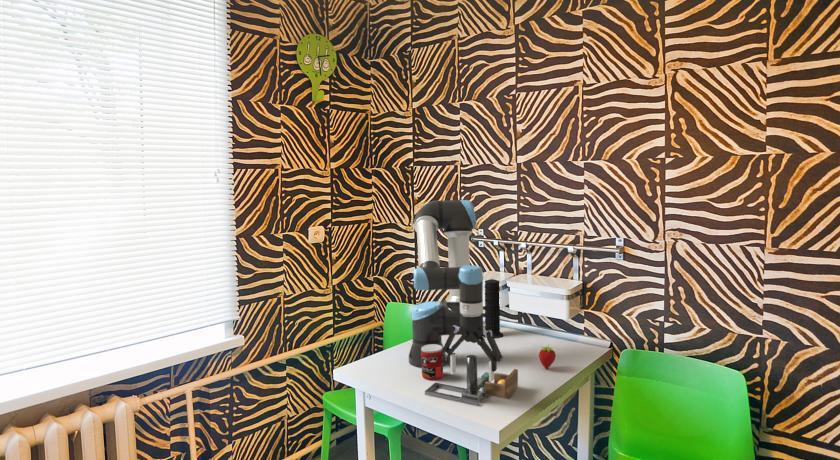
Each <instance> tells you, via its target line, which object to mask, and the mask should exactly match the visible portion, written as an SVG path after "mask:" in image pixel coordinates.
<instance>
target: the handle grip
mask: <svg viewBox="0 0 840 460" xmlns="http://www.w3.org/2000/svg"><path fill="white" fill-rule="evenodd" d="M499 285H500V280H498V279H493V278H491V279H486V280H484V309H485V310H484V312H485V313H484V322H485V323H484V325H485V326H484V327H485V328H484V331H489V330H492V331H493V337H494V339H500V338H503V337H504V334H503V332H501V331H500V330H501V327H500V326H501V324H500V323H501V320H500V318H501V317H500V315H501V313H500V312H501V310H500V308H501V307H500V305H501V303H500V304H499V299H500V298H501V297H499V292H501V290H500V288H499ZM483 338H484V339H487V338H486V337H485V335H483Z"/></svg>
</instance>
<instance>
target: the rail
mask: <svg viewBox="0 0 840 460" xmlns="http://www.w3.org/2000/svg"><path fill="white" fill-rule="evenodd" d="M466 388H467V387H466ZM466 388H464V387H460V386H455V385H449V384H445V383H440V382H434V383H433V384H431V386H429V387H428V388H427V389H425V390H424V395H425V396H430V397H435V398H439V399H444V400H449V401H453V402H458V403H461V404H462V403H464V404H466V405H471V406H476V407H478V406H479V405H480V401H477V400H473V399H468V398H463V397H461V396H457V395H453V394H447V393H443V392H439V391H435V390H436V389H443V390H447V391H451V392H458V393H460V394H461V393H462V392H463V391H464V390H465V389H466ZM487 396H488V395H487V393H486V392H485V391H483V398H486V397H487Z"/></svg>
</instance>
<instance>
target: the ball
mask: <svg viewBox="0 0 840 460" xmlns="http://www.w3.org/2000/svg"><path fill="white" fill-rule="evenodd" d="M497 384H502V385H505V380H503V379H502V380H499V381H498V383H497Z"/></svg>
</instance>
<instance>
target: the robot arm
mask: <svg viewBox="0 0 840 460" xmlns="http://www.w3.org/2000/svg"><path fill="white" fill-rule="evenodd" d="M475 211H476V210H475V208H474V205H473V203H472V201H471V200H468V199H452V200H451V199H447V200H445V199H444V200H432V201H430V202H427V203H425V204H424V205H423V206H421V207H420V208H419V209H418V211H417V213H416V214H415V217H414V220H413V228H414V232H416V239H417V242H416V243H417V255H418V256H417V259H418V261H417V263H418V267H417V268H414V269H413V288H414V289H415V290H417V291H436V290H437V291H440V290H443V291H446V290H448V291H449V297H448V298H447V299H445V300H446V306H441V303H440V302H441V301H434V300H432V301H431V300H430V301H424V302H421V303H418V304H416V305H414V307H412V310H411V311H412V312H411V313H412V314H411V323H412V327H411V328H412V330H411V331H412V335H411V336H412V344H411V347H410V350H409V353H408V363H409V364H411V365H412V366H414V367H417V368H422V360H421V348H422V347H423V346H425V345H429V344H437V345H440V346H442V348H443V349H442V351H443V365H444V364H446V362H447V363H448V364H450V366H449V367H450V369H449V370H450V375H454V374H455V373H456V372H457V366H456V365H457V364H456V363H457V359H456V358H457V354H456V352H455V351H456V349H457V348H458V347H459V346H460V345H461V344H462V342H464V341H465V342H466V343H473V344H477V345H478V346H479V347H480V348H481V349H482V351H483V352H484V354H485V355H486V356H487V358H488V359H489V360H490V361H488V373H489V382H491V383H493V382H494V373H496V372H497V370H498V366H497V363H498V362H500V361H501V360H502V359H503V355H502V353H501V351H500V348H499V346H498V344H497V341H496V340H495V339H496V338H495V339H494V337H493V331H492V330H489V331H486V330H485V329H484V315H483V313H484V300H483V299H484V297H483V295H484V294H483V293H484V288H483V285H484V284H483V283H484V275H483V268H482V267H481V266H478V265H471V262H470V261H471V260H470V258H471V256H470V255H471V254H470V236H471V235H472V234H473V230H474V229H476V226H477V218H476V213H475ZM438 230H443V235H445V236H446V237H447V251H448V252H447V255H448V257H447V258H448V267H441V263H440V257H439V255H440V254H439V245H438V236H437V235H438V234H437V231H438ZM460 335H461V336H460ZM483 335H485V337H486V338H485V337H483ZM443 336H448V337H447V339H446V341H445V344H443V342H442V341H443V340H442V338H443ZM455 336H460V337H459V338H458V339H457V341H456V342H454V344H453V345H452V342H453V341H454V339H455ZM486 340H487V342H488V343H487V342H486ZM451 345H452V346H451ZM446 353H447V354H446Z"/></svg>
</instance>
